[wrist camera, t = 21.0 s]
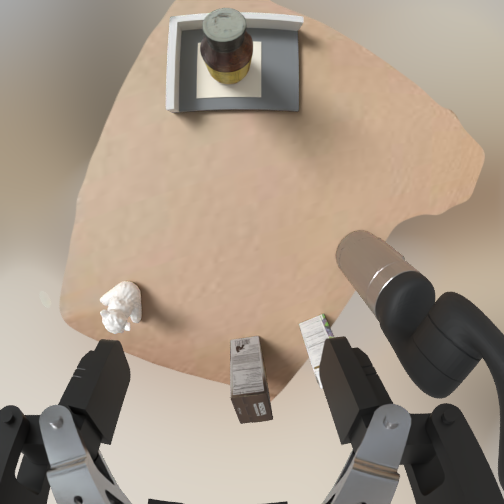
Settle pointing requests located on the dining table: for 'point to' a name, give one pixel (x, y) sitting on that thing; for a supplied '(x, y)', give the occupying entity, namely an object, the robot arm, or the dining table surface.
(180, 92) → the grey tray
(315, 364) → the syrup box
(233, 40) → the sauce bottle
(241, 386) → the coffee box
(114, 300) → the sitting furry creature
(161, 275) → the dining table surface
